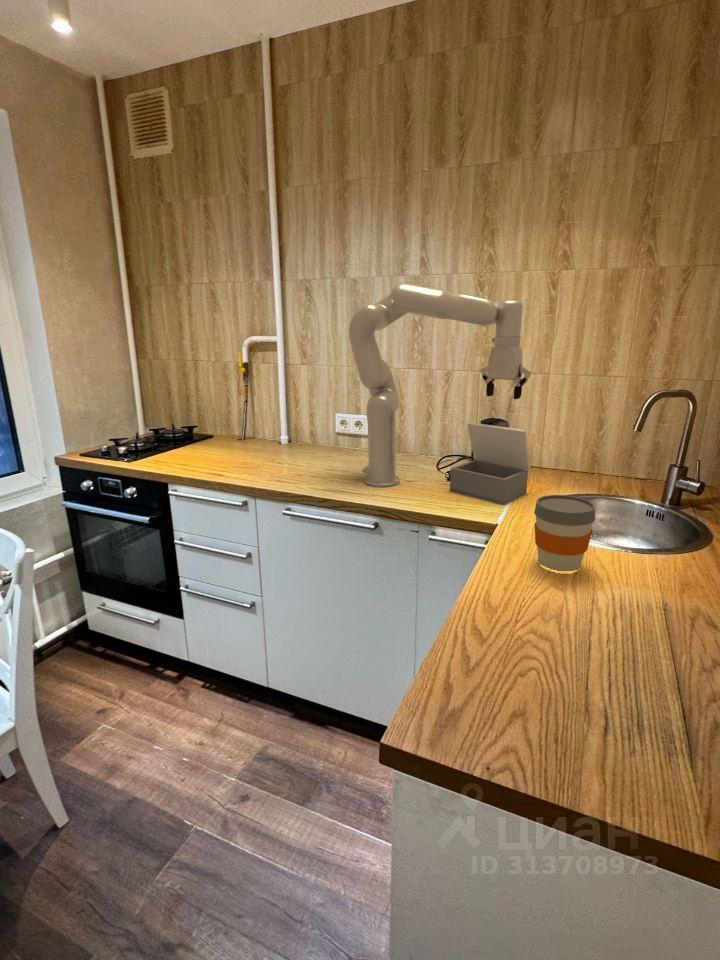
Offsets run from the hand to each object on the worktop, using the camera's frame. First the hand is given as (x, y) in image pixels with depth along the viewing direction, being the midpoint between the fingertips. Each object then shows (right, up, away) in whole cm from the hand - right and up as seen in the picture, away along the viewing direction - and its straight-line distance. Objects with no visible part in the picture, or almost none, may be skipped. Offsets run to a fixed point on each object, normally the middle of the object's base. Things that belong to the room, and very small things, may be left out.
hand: (503, 397), depth 165 cm
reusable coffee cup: (-1, -46, -48) cm, 66 cm away
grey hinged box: (-4, -31, +3) cm, 31 cm away
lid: (-1, -16, +2) cm, 16 cm away
